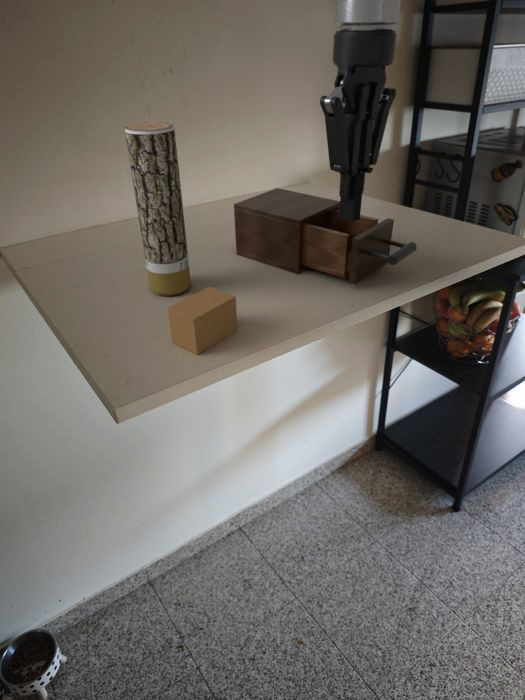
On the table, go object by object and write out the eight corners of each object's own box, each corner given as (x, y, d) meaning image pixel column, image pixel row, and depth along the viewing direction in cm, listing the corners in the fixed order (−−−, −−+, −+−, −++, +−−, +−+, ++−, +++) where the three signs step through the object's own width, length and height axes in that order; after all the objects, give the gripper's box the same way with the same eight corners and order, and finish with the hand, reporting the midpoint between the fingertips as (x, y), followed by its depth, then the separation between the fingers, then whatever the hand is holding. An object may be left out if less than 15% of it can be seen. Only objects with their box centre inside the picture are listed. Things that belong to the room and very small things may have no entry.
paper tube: (152, 300, 79) (125, 131, 66) (148, 282, 85) (123, 123, 71) (194, 294, 81) (176, 128, 67) (188, 277, 86) (171, 120, 73)
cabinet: (337, 251, 95) (341, 201, 89) (298, 274, 87) (299, 220, 81) (277, 235, 102) (277, 187, 97) (236, 254, 94) (233, 204, 89)
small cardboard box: (212, 319, 74) (209, 286, 71) (237, 330, 71) (235, 296, 68) (172, 342, 69) (167, 307, 66) (197, 355, 66) (193, 319, 63)
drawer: (418, 270, 85) (425, 226, 80) (386, 295, 78) (392, 247, 73) (324, 245, 95) (326, 204, 91) (288, 264, 88) (288, 221, 84)
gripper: (374, 26, 66) (357, 202, 79) (305, 29, 59) (300, 222, 72) (423, 26, 62) (396, 214, 75) (355, 29, 54) (339, 236, 68)
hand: (349, 218), depth 73 cm, fingers closed
